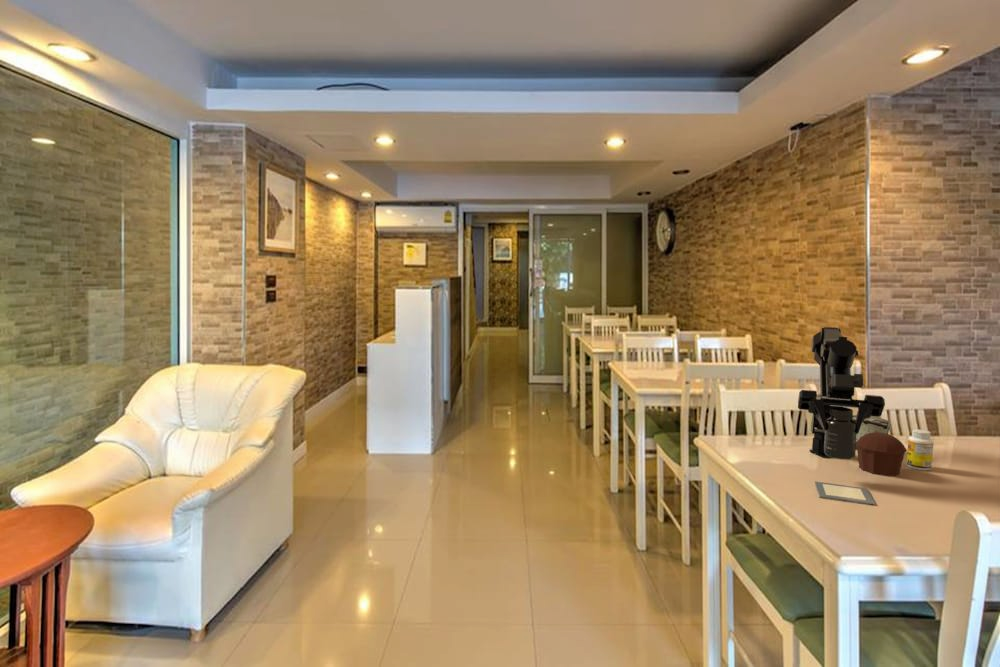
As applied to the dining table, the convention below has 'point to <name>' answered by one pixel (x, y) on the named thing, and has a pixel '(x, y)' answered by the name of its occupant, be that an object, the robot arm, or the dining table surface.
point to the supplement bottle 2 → (920, 450)
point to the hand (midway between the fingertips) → (841, 431)
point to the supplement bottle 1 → (840, 434)
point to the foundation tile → (844, 493)
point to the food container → (872, 426)
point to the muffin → (880, 454)
